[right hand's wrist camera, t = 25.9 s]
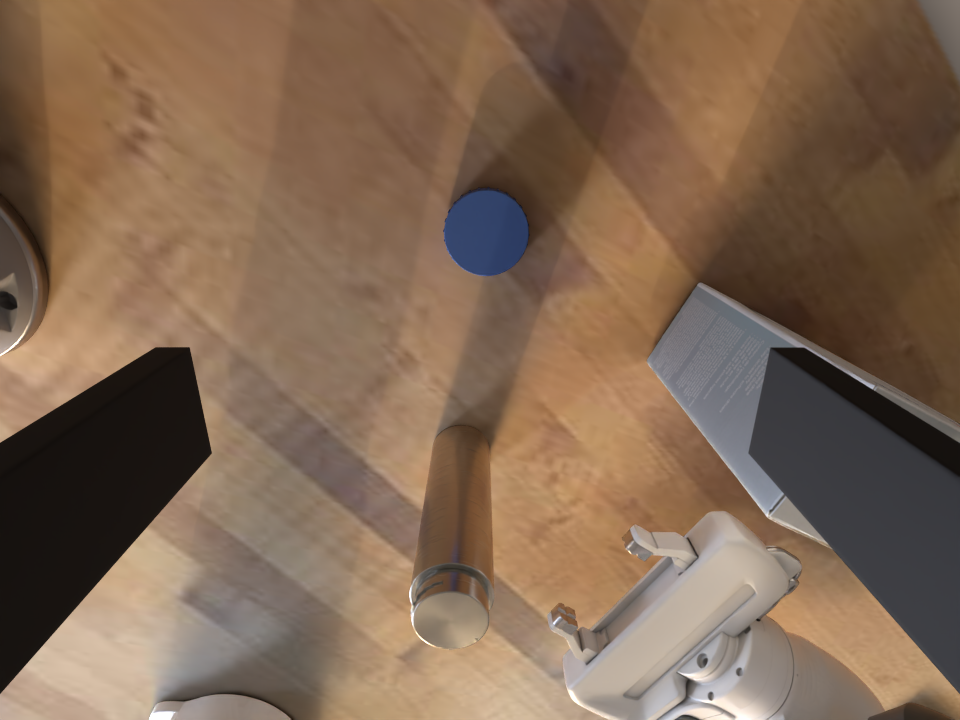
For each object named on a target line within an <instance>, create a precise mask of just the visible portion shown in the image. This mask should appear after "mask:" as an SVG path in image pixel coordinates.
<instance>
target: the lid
mask: <svg viewBox="0 0 960 720" xmlns="http://www.w3.org/2000/svg"><path fill="white" fill-rule="evenodd" d="M521 208H522V206H521V205H519V204H518V203H517V202H516V199H515V198H512V197H511V196H510V195H508V193H507V192H506V193H505V192H503V191H500V190H499V189H498V188H497V189H492V188H489V187H488V188H481V189H480V187H479V188H478V189H476V190H472V191H471V190H470V191H469V192H468V193H466V194H465V195H461V197H460V198H459V199H458V200H457V202H454V204H453V207H452V208H451V210H450V209H449V211H448V213H449V214H448V217H447V218H446V220H445V222H446V223H445V228H444V230H443V232H444V238H445V239H444V241H445V244H446V247H447V251H448V252H449V254H450V255H451V257H452V259H453V260H454V261H455V262H456V263H457V264H458V265H459V266H460V267H461V268H463V269H464V270H466V271H468V272H470V273H473V274H476V275H482V276H491V275H497V274H500V273H502V272H505V271H507V270H508V269H510V268H511V267H513V266H514V265H515V264H516V263H517V262H518V261H519V259H520V258H521V257H522V255H523V254H524V251H525V249H526V247H527V245H528V244H527V243H528V237H529V229H528V226H529V224H528V223H527V219H526V217H527V216H526V214H525V213H524V212H523V210H522V209H521Z"/></svg>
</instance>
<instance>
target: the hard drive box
mask: <svg viewBox="0 0 960 720" xmlns="http://www.w3.org/2000/svg"><path fill="white" fill-rule="evenodd" d="M770 347H804V348H806V349H808V350H809V351H811V352H813V353H814V354H816V355H817V356H819V357H821V358H822V359H824V360H826V361H827V362H829V363H830V364H832V365H834V366H835V367H837V368H839V369H840V370H842V371H844V372H845V373H847V374H848V375H850V376H852V377H853V378H855V379H857V380H858V381H860V382H861V383H863V384H865V385H866V386H868V387H870V388H871V389H873V390H874V391H876V392H878V393H879V394H881V395H883V396H884V397H886V398H888V399H889V400H891V401H892V402H894V403H896V404H897V405H899V406H901V407H902V408H904V409H905V410H907V411H909V412H910V413H912V414H914V415H915V416H917V417H918V418H920V419H922V420H923V421H925V422H927V423H928V424H930V425H931V426H933V427H935V428H936V429H938V430H940V431H941V432H943V433H945V434H946V435H948V436H949V437H951V438H953V439H954V440H956V441H958V442H959V443H960V424H959V423H957V422H955V421H954V420H952V419H950V418H948V417H947V416H945V415H943V414H941V413H939V412H938V411H936V410H934V409H932V408H931V407H929V406H927V405H925V404H924V403H922V402H920V401H918V400H917V399H915V398H913V397H911V396H910V395H908V394H906V393H904V392H902V391H901V390H899V389H897V388H895V387H893V386H892V385H890V384H888V383H886V382H884V381H883V380H881V379H879V378H877V377H875V376H874V375H872V374H870V373H868V372H866V371H865V370H863V369H861V368H859V367H857V366H856V365H854V364H852V363H850V362H848V361H846V360H845V359H843V358H841V357H839V356H837V355H835V354H834V353H832V352H830V351H828V350H826V349H824V348H822V347H820V346H819V345H817V344H815V343H813V342H811V341H809V340H807V339H806V338H804V337H802V336H800V335H798V334H796V333H795V332H793V331H791V330H789V329H787V328H786V327H784V326H782V325H780V324H778V323H776V322H775V321H773V320H771V319H769V318H767V317H765V316H764V315H762V314H760V313H758V312H756V311H754V310H752V309H751V308H749V307H747V306H745V305H743V304H741V303H740V302H738V301H736V300H734V299H732V298H730V297H728V296H726V295H724V294H722V293H721V292H719V291H717V290H715V289H713V288H711V287H709V286H707V285H705V284H703V283H698V285H697V286H696V288H695V289H694V290H693V292H692V293H691V295H690V296H689V298H688V299H687V301H686V302H685V304H684V305H683V307H682V308H681V310H680V311H679V313H678V314H677V315H676V317H675V318H674V320H673V321H672V323H671V324H670V326H669V327H668V329H667V330H666V332H665V333H664V335H663V336H662V338H661V339H660V341H659V342H658V344H657V345H656V347H655V348H654V350H653V352H652V353H651V355H650V356H649V358H648V359H647V363H648V364H649V366H650V367H651V368H652V370H653V371H654V372H655V374H656V375H657V376H658V377H659V379H660V380H661V381H662V383H663V384H664V385H665V386H666V388H667V389H668V390H669V392H670V393H671V394H672V396H673V397H674V398H675V399H676V401H677V402H678V403H679V404H680V406H681V407H682V408H683V410H684V411H685V412H686V414H687V415H688V416H689V417H690V419H691V420H692V421H693V423H694V424H695V425H696V426H697V428H698V429H699V430H700V431H701V433H702V434H703V435H704V437H705V438H706V439H707V440H708V442H709V443H710V444H711V446H712V447H713V448H714V449H715V451H716V452H717V453H718V455H719V456H720V457H721V458H722V460H723V461H724V462H725V464H726V465H727V466H728V467H729V469H730V470H731V471H732V472H733V474H734V475H735V476H736V477H737V479H738V480H739V481H740V482H741V484H742V485H743V486H744V488H745V489H746V490H747V492H748V493H749V494H750V496H751V497H752V498H753V499H754V501H755V502H756V503H757V505H758V506H759V507H760V508H761V510H762V511H763V512H764V514H765V515H766V516H767V518H769V519H771V520H772V521H774V522H776V523H778V524H780V525H782V526H784V527H786V528H788V529H790V530H793V531H795V532H797V533H799V534H801V535H803V536H805V537H808V538H810V539H812V540H814V541H816V542H818V543H820V544H823V545H825V546H827V547H829V548H831V547H830V546H829V545H828V543H827V542H826V541H825V540H824V539H823V538H822V537H821V535H820V534H819V533H818V532H817V531H816V530H815V529H814V528H813V526H812V525H811V524H810V523H809V522H808V521H807V520H806V518H805V517H804V516H803V515H802V514H801V513H800V512H799V510H798V509H797V508H796V507H795V506H794V505H793V504H792V503H791V501H790V500H789V499H788V498H787V497H786V496H785V495H784V493H783V492H782V491H781V490H780V489H779V488H778V487H777V485H776V484H775V483H774V482H773V481H772V480H771V479H770V477H769V476H768V475H767V474H766V473H765V472H764V471H763V470H762V468H761V467H760V466H759V465H758V464H757V463H756V462H755V460H754V459H753V458H752V457H751V456H750V455H749V454H748V452H749V447H750V442H751V437H752V433H753V428H754V423H755V418H756V414H757V409H758V404H759V399H760V395H761V390H762V385H763V380H764V376H765V371H766V366H767V361H768V357H769V352H770ZM831 549H832V548H831Z"/></svg>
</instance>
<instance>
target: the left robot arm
mask: <svg viewBox="0 0 960 720" xmlns="http://www.w3.org/2000/svg"><path fill="white" fill-rule="evenodd" d="M622 540H623V541H624V542H625V543H624V545H625V548H626V549H627V550H628V551H629V552H630V553H631V554H633V555H637V556H638V558H640V559H641V560H643V561H645V560H646V559H648V558H649V557H650V556H651V555H659V556H663V557H662V558H661V559H660V560H659V561H658V562H657V563H656V564H655V565H654V566H653V567H652V568H651V569H650V570H649V571H648V572H647V573H646V574H645V575H644V576H643V577H642V578H641V579H640V580H639V581H638V582H637V583H636V584H635V585H634V586H633V587H632V588H631V589H630V590H629V591H628V592H627V593H626V594H625V595H624V596H623V597H622V598H621V599H620V600H619V601H618V602H617V603H616V604H615V605H614V606H613V607H612V608H611V609H610V610H609V611H608V612H607V613H606V614H605V615H604V616H603V617H602V618H601V619H600V620H599V621H598V622H597V623H596V624H595V625H594V626H593V627H592V628H591V629H590V630H588V629H586V628H584V627H581V628H580V629H579V631H577V629H578V625H577V621H576V620H575V618H576V615H575V610H573V609H571V608H570V607H565V606H564V604H562V603H558V604H557V605H556V606H555V607H554V608H553V609H552V610H551V612H550V613H549V614H548V623H549V627H550V629H551V630H552V631H553V632H555V633H557V634H559V635H560V636H562V637H564V638H566V640H567V642H568V644H569V646H570V649H569V650H568V651H567V652H566V653H565V654H564V656H563V670H564V677H565V682H566V686H567V690H568V692H569V695H570V697H571V698H572V699H573V701H575V702H576V703H577V704H579V705H580V706H582V707H584V708H586V709H588V710H590V711H592V712H594V713H596V714H598V715H600V716H602V717H605V718H607V719H609V720H954V719H952V718H950V717H948V716H946V715H944V714H941V713H939V712H937V711H934V710H932V709H929V708H926V707H924V706H921V705H918V704H915V703H908V704H905V705H902V706H899V707H897V708H894V709H891V710H888V711H885V710H884V708H883V706H882V705H881V703H880V701H879V700H878V699H877V697H876V696H875V695H874V693H873V692H872V691H871V690H870V689H869V688H868V687H867V685H866V684H865V683H864V682H863V681H862V680H861V679H860V678H859V677H858V676H857V675H855V674H854V673H853V672H852V671H851V670H850V669H849V668H848V667H846V666H845V665H844V664H843V663H841V662H840V661H839V660H837V659H836V658H835V657H833V656H832V655H830V654H829V653H827V652H826V651H824V650H823V649H821V648H820V647H818V646H816V645H815V644H813V643H812V642H810V641H808V640H806V639H805V638H803V637H801V636H798V635H796V634H793V633H789V632H786V631H785V630H784V629H783V628H782V627H781V626H780V625H779V624H778V623H777V622H775V621H774V620H773V619H771V618H769V617H768V616H766V614H767V613H768V612H770V611H771V610H772V609H773V608H774V607H775V606H776V605H777V604H778V602H779V601H780V600H781V599H782V598H783V597H784V596H786V595H788V594H790V593H791V592H793V591H794V590H795V589H796V587H797V586H798V585H799V581H798V580H797V579H798V578H799V576H800V574H801V571H802V565H801V562H800V561H799V559H798V558H797V557H796V556H794V555H792V554H791V553H789V552H788V551H786V550H785V549H783V548H781V547H778V546H766V545H765V544H764V543H763V542H762V541H761V539H760V538H759V537H758V536H757V535H756V534H754V533H753V532H752V531H751V530H750V529H749V528H748V527H747V526H745V525H744V524H743V523H742V522H741V521H739V520H738V519H737V518H735V517H734V516H733V515H731V514H730V513H728V512H726V511H712V512H708V513H707V514H706V515H705V516H704V517H703V518H702V519H701V520H700V521H699V522H698V523H697V524H696V525H695V526H694V527H693V528H692V529H691V530H690V531H689V532H688V533H687V534H686V535H685V536H684V537H683V536H681V535H680V534H678V533H676V532H651V533H650V532H648V531H646V530H645V529H643V528H641V527H640V526H638V525H636V524H634V525H633V526H632V527H631V528H630V529H629V531H628V532H627V533H626V534H625V535H624V536H623V537H622ZM150 720H291V719H290V718H289V717H288V716H287V715H286V714H285V713H283V712H282V711H281V710H279V709H277V708H276V707H274V706H272V705H270V704H268V703H266V702H263V701H261V700H258V699H254V698H251V697H247V696H241V695H233V694H217V695H209V696H204V697H200V698H197V699H194V700H190V701H185V702H182V701H165V702H159V703H157V704H156V705H155V707H154V709H153V712H152V714H151V716H150Z"/></svg>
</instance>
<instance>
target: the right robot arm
mask: <svg viewBox="0 0 960 720" xmlns="http://www.w3.org/2000/svg"><path fill="white" fill-rule="evenodd" d="M47 300H48V280H47V274H46V268H45V265H44V261H43V258H42V255H41V253H40V250H39V248H38V245H37V243H36V241H35V239H34V237H33V236H32V234H31V232H30V230H29V229H28V227H27V226H26V224H25V223H24V221H23V220H22V219H21V217H20V216H19V215H18V213H17V212H16V211H15V210H14V209H13V207H12V206H11V205H10V204H9V203H8V202H7V201H6V200H5V199H4V198H3V197H2V196H1V195H0V356H1V355H4V354H6V353H8V352H11V351H13V350H15V349H16V348H18V347H20V346H21V345H23V344H24V343H25V342H26V341H28V340H29V339H30V338H31V337H32V336H33V334H34V333H35V332H36V330H37V329H38V327H39V325H40V324H41V322H42V319H43V317H44V314H45V311H46V307H47ZM211 454H212V452H211V447H210V442H209V438H208V433H207V428H206V423H205V418H204V414H203V409H202V404H201V399H200V395H199V390H198V385H197V380H196V376H195V371H194V366H193V361H192V357H191V352H190V347H156V348H154V349H152V350H151V351H149V352H147V353H146V354H144V355H143V356H141V357H139V358H138V359H136V360H134V361H133V362H131V363H130V364H128V365H126V366H125V367H123V368H121V369H120V370H118V371H116V372H115V373H113V374H112V375H110V376H108V377H107V378H105V379H103V380H102V381H100V382H99V383H97V384H95V385H94V386H92V387H90V388H89V389H87V390H86V391H84V392H82V393H81V394H79V395H77V396H76V397H74V398H72V399H71V400H69V401H68V402H66V403H64V404H63V405H61V406H59V407H58V408H56V409H55V410H53V411H51V412H50V413H48V414H46V415H45V416H43V417H42V418H40V419H38V420H37V421H35V422H33V423H32V424H30V425H29V426H27V427H25V428H24V429H22V430H20V431H19V432H17V433H15V434H14V435H12V436H11V437H9V438H7V439H6V440H4V441H2V442H1V443H0V694H1V692H2V691H3V690H4V689H5V688H6V687H7V686H8V684H9V683H10V682H11V681H12V680H13V679H14V678H15V676H16V675H17V674H18V673H19V672H20V671H21V670H22V668H23V667H24V666H25V665H26V664H27V663H28V662H29V661H30V659H31V658H32V657H33V656H34V655H35V654H36V653H37V651H38V650H39V649H40V648H41V647H42V646H43V645H44V643H45V642H46V641H47V640H48V639H49V638H50V637H51V636H52V634H53V633H54V632H55V631H56V630H57V629H58V628H59V626H60V625H61V624H62V623H63V622H64V621H65V620H66V618H67V617H68V616H69V615H70V614H71V613H72V612H73V611H74V609H75V608H76V607H77V606H78V605H79V604H80V603H81V601H82V600H83V599H84V598H85V597H86V596H87V595H88V593H89V592H90V591H91V590H92V589H93V588H94V587H95V585H96V584H97V583H98V582H99V581H100V580H101V579H102V578H103V576H104V575H105V574H106V573H107V572H108V571H109V570H110V568H111V567H112V566H113V565H114V564H115V563H116V562H117V560H118V559H119V558H120V557H121V556H122V555H123V554H124V553H125V551H126V550H127V549H128V548H129V547H130V546H131V545H132V543H133V542H134V541H135V540H136V539H137V538H138V537H139V535H140V534H141V533H142V532H143V531H144V530H145V529H146V528H147V526H148V525H149V524H150V523H151V522H152V521H153V520H154V518H155V517H156V516H157V515H158V514H159V513H160V512H161V510H162V509H163V508H164V507H165V506H166V505H167V504H168V503H169V501H170V500H171V499H172V498H173V497H174V496H175V495H176V493H177V492H178V491H179V490H180V489H181V488H182V487H183V485H184V484H185V483H186V482H187V481H188V480H189V479H190V477H191V476H192V475H193V474H194V473H195V472H196V471H197V470H198V468H199V467H200V466H201V465H202V464H203V463H204V462H205V460H206V459H207V458H208V457H209V456H210V455H211ZM748 454H749V455H750V456H751V457H752V458H753V459H754V460H755V462H756V463H757V464H758V465H759V466H760V467H761V468H762V470H763V471H764V472H765V473H766V474H767V475H768V476H769V477H770V479H771V480H772V481H773V482H774V483H775V484H776V485H777V487H778V488H779V489H780V490H781V491H782V492H783V493H784V495H785V496H786V497H787V498H788V499H789V500H790V501H791V503H792V504H793V505H794V506H795V507H796V508H797V509H798V510H799V512H800V513H801V514H802V515H803V516H804V517H805V518H806V520H807V521H808V522H809V523H810V524H811V525H812V526H813V528H814V529H815V530H816V531H817V532H818V533H819V534H820V535H821V537H822V538H823V539H824V540H825V541H826V542H827V543H828V545H829V546H830V547H831V548H832V549H833V550H834V551H835V553H836V554H837V555H838V556H839V557H840V558H841V559H842V560H843V562H844V563H845V564H846V565H847V566H848V567H849V568H850V570H851V571H852V572H853V573H854V574H855V575H856V576H857V578H858V579H859V580H860V581H861V582H862V583H863V584H864V585H865V587H866V588H867V589H868V590H869V591H870V592H871V593H872V595H873V596H874V597H875V598H876V599H877V600H878V601H879V603H880V604H881V605H882V606H883V607H884V608H885V609H886V611H887V612H888V613H889V614H890V615H891V616H892V617H893V618H894V620H895V621H896V622H897V623H898V624H899V625H900V626H901V628H902V629H903V630H904V631H905V632H906V633H907V634H908V636H909V637H910V638H911V639H912V640H913V641H914V642H915V643H916V645H917V646H918V647H919V648H920V649H921V650H922V651H923V653H924V654H925V655H926V656H927V657H928V658H929V659H930V661H931V662H932V663H933V664H934V665H935V666H936V667H937V668H938V670H939V671H940V672H941V673H942V674H943V675H944V676H945V678H946V679H947V680H948V681H949V682H950V683H951V684H952V686H953V687H954V688H955V689H956V690H957V691H958V692H959V694H960V443H959V442H958V441H956V440H954V439H953V438H951V437H949V436H948V435H946V434H945V433H943V432H941V431H940V430H938V429H936V428H935V427H933V426H931V425H930V424H928V423H927V422H925V421H923V420H922V419H920V418H918V417H917V416H915V415H914V414H912V413H910V412H909V411H907V410H905V409H904V408H902V407H901V406H899V405H897V404H896V403H894V402H892V401H891V400H889V399H888V398H886V397H884V396H883V395H881V394H879V393H878V392H876V391H874V390H873V389H871V388H870V387H868V386H866V385H865V384H863V383H861V382H860V381H858V380H857V379H855V378H853V377H852V376H850V375H848V374H847V373H845V372H844V371H842V370H840V369H839V368H837V367H835V366H834V365H832V364H830V363H829V362H827V361H826V360H824V359H822V358H821V357H819V356H817V355H816V354H814V353H813V352H811V351H809V350H808V349H806V348H804V347H770V352H769V357H768V361H767V366H766V371H765V376H764V380H763V385H762V390H761V395H760V399H759V404H758V409H757V414H756V418H755V423H754V428H753V433H752V437H751V442H750V447H749V452H748Z"/></svg>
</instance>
